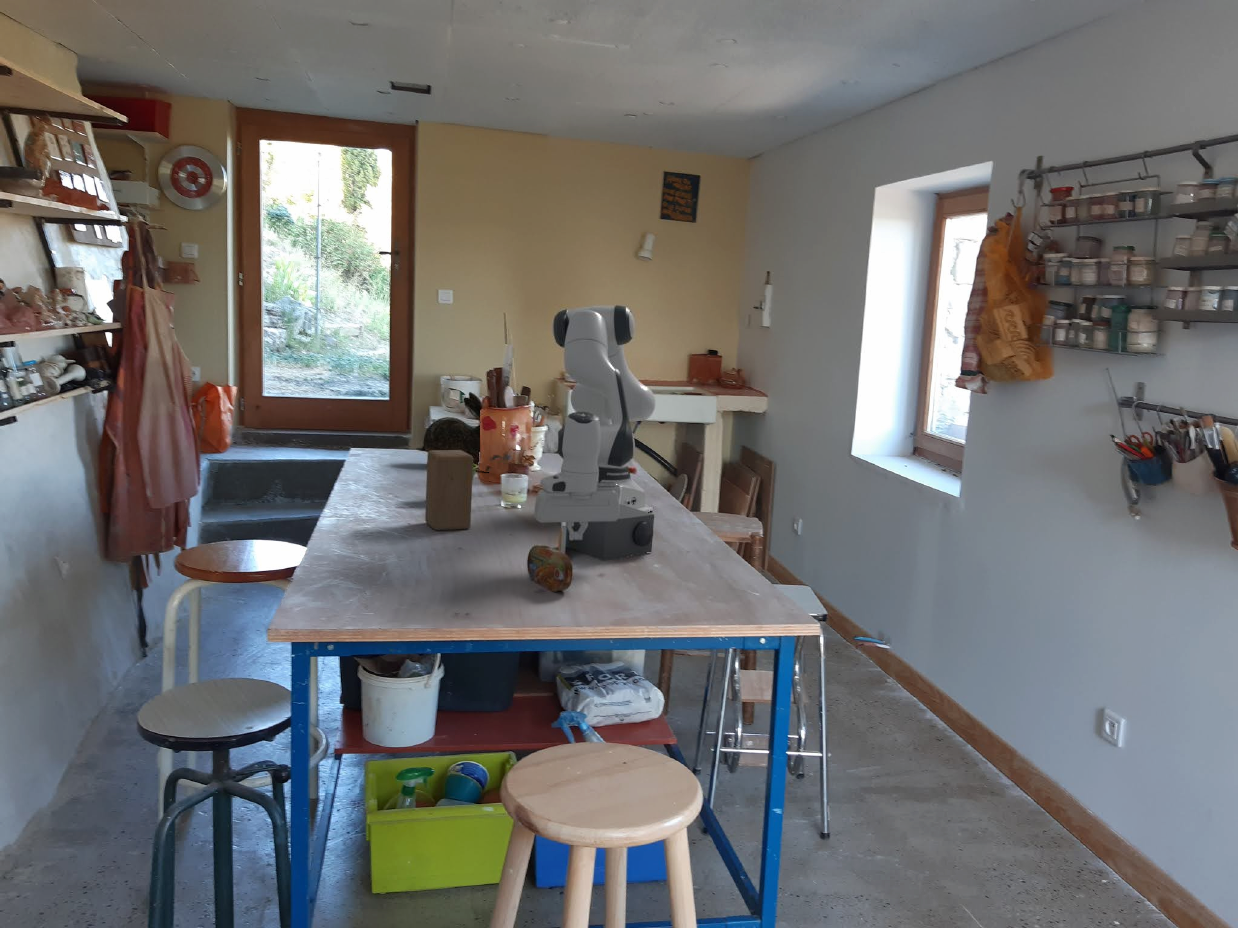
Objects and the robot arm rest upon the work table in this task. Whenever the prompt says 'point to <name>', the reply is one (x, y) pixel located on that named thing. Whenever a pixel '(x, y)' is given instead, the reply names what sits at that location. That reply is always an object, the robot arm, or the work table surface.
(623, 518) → the cabinet body
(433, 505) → the wooden block
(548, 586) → the tin
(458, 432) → the sculpture
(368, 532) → the work table surface
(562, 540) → the door
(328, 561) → the work table surface
